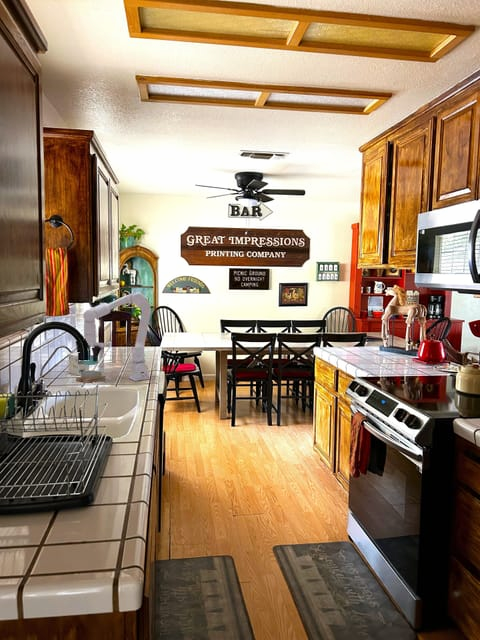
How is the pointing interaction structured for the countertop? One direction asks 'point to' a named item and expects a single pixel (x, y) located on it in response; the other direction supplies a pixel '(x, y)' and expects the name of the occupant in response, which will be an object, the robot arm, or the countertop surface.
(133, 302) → the robot arm
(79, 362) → the light bulb box
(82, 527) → the countertop surface
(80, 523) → the countertop surface
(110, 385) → the countertop surface
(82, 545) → the countertop surface
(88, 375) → the grey middle slab
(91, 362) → the teal block
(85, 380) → the walnut base slab
